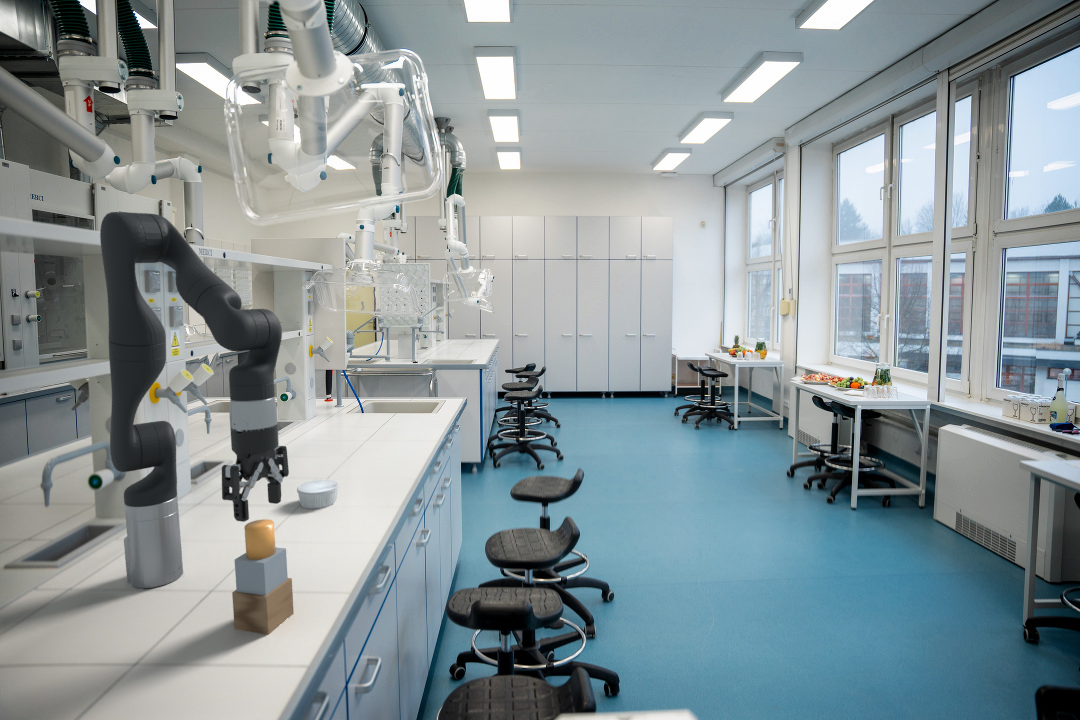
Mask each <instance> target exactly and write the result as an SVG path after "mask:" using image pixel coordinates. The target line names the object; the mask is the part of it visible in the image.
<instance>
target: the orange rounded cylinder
mask: <svg viewBox="0 0 1080 720" xmlns="http://www.w3.org/2000/svg"><path fill="white" fill-rule="evenodd" d="M275 533H276V532H275V521H274V520H272V519H266V518H264V519H257V520H253V521H250V522H248V523H246V524H245V525H244V539H245V540H244V542H245V553H246V557H247V558H248V559H251V560H259V559H264V558H268V557H270V556H272V555H273V554H275V552H276V549H275V547H276V536H275V535H276V534H275Z"/></svg>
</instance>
